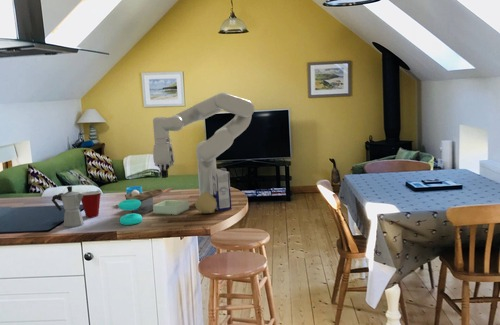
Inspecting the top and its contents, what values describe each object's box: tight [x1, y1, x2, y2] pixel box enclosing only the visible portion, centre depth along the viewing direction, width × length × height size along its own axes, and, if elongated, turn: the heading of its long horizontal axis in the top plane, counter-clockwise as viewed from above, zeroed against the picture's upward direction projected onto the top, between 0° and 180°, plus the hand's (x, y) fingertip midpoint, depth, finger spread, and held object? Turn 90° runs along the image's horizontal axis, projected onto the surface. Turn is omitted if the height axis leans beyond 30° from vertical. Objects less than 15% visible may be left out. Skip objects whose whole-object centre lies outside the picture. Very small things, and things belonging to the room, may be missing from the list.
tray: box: [152, 199, 190, 216], centre depth 245 cm, size 13×11×4 cm
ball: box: [131, 190, 139, 196], centre depth 252 cm, size 4×4×4 cm
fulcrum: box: [131, 197, 154, 214], centre depth 251 cm, size 8×12×5 cm, turn 155°
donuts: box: [117, 199, 143, 226], centre depth 228 cm, size 10×10×10 cm
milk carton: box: [211, 167, 233, 212], centre depth 243 cm, size 7×7×20 cm
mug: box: [125, 185, 143, 201], centre depth 270 cm, size 12×8×8 cm
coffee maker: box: [51, 185, 85, 229], centre depth 229 cm, size 15×9×18 cm, turn 92°
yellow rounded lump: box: [195, 192, 217, 214], centre depth 236 cm, size 10×12×11 cm
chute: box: [124, 187, 174, 200], centre depth 254 cm, size 16×18×4 cm
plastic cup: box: [79, 190, 103, 218], centre depth 244 cm, size 11×11×12 cm
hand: (164, 177), depth 256 cm, fingers closed
